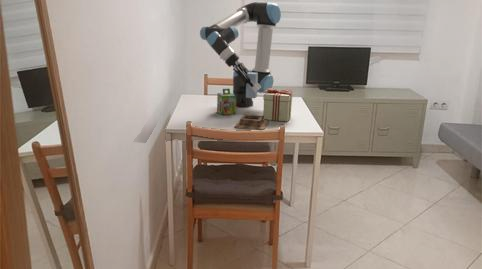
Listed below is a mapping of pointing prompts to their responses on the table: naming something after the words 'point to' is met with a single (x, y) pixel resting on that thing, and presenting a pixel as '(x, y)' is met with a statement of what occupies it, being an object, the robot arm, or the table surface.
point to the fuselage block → (249, 90)
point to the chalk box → (226, 103)
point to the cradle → (252, 122)
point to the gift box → (277, 104)
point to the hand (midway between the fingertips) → (258, 89)
